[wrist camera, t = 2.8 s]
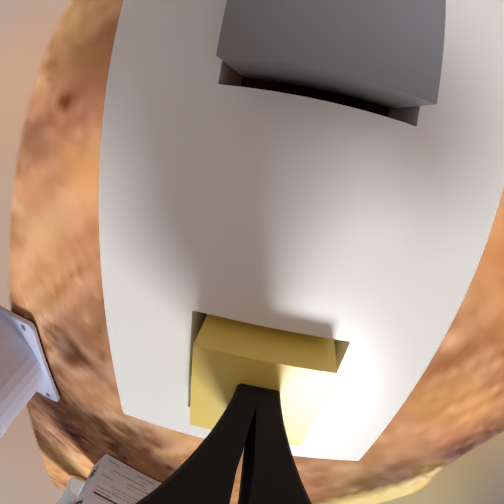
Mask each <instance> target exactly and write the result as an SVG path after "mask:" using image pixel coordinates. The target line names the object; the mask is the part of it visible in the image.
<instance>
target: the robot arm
mask: <svg viewBox="0 0 504 504" xmlns="http://www.w3.org/2000/svg"><path fill="white" fill-rule="evenodd" d="M36 391H37V392H39V393H40V394H42V395H44V396H46V397H48V398H49V399H51V400H53V401H55V402H58V401H59V399H60V396H59V394H58V391H57V389H56V386H55V384H54V381H53V378H52V376H51V373H50V370H49V368H48V365H47V362H46V359H45V356H44V353H43V350H42V347H41V344H40V340H39V337H38V334H37V330H36V327H35V326H34V324H33V323H32V322H31V321H29V320H27V319H25V318H23V317H21V316H19V315H17V314H15V313H13V312H11V311H9V310H7V309H5V308H3V307H1V306H0V438H1V437H2V435H3V434H4V433H5V431H6V430H7V429H8V427H9V426H10V424H11V423H12V422H13V421H14V419H15V418H16V417H17V415H18V414H19V413H20V411H21V410H22V409H23V408H24V406H25V405H26V404H27V402H28V401H29V400H30V399H31V397H32V396H33V395H34V394H35V392H36ZM243 449H244V455H243V464H242V473H241V482H240V491H239V500H238V504H311V502H310V500H309V497H308V495H307V493H306V491H305V488H304V486H303V484H302V481H301V479H300V476H299V474H298V471H297V468H296V465H295V462H294V459H293V456H292V453H291V449H290V446H289V442H288V438H287V434H286V430H285V426H284V420H283V415H282V409H281V400H280V393H279V391H278V390H272V389H267V388H262V387H257V386H252V385H247V384H242V383H240V384H238V385H237V387H236V390H235V392H234V394H233V397H232V399H231V401H230V402H229V404H228V406H227V408H226V409H225V411H224V413H223V414H222V416H221V417H220V419H219V420H218V422H217V423H216V425H215V426H214V428H213V429H212V430H211V432H210V433H209V434H208V436H207V437H206V438H205V439H204V441H203V442H202V443H201V444H200V445H199V447H198V448H197V449H196V450H195V451H194V453H193V454H192V455H191V456H190V457H189V458H188V459H187V460H186V461H185V462H184V463H183V464H182V465H181V466H180V467H179V468H178V469H177V470H176V471H175V472H174V473H173V474H172V475H171V476H170V477H169V478H167V479H166V480H165V481H164V482H163V483H162V484H161V485H159V486H158V487H157V488H156V489H154V490H153V491H152V492H151V493H149V494H148V495H147V496H145V497H144V498H142V499H141V500H140V501H138V502H137V503H135V504H229V503H230V498H231V493H232V489H233V484H234V479H235V474H236V470H237V467H238V464H239V461H240V458H241V455H242V452H243Z"/></svg>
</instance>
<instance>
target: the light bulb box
mask: <svg viewBox="0 0 504 504" xmlns="http://www.w3.org/2000/svg"><path fill="white" fill-rule="evenodd" d="M161 484H162V483H161V482H159V481H156V480H154V479H152V478H150V477H148V476H146V475H144V474H142V473H141V472H139V471H137V470H135V469H133V468H131V467H129V466H128V465H126V464H124V463H122V462H121V461H119V460H117V459H115V458H114V457H112V456H110V455H109V454H105V455H104V456H103V457H102V458H101V459H100V460H99V461H98V462H97V463H96V464H95V465H94V466H93V468H92V470H91V472H90V474H89V476H88V478H87V480H86V482H85V484H84V486H83V488H82V490H81V492H80V494H79V496H78V498H77V500H76V502H75V504H135V503H137V502H138V501H140V500H141V499H142V498H144V497H145V496H147V495H148V494H149V493H151V492H152V491H153V490H154V489H156V488H157V487H158V486H159V485H161Z"/></svg>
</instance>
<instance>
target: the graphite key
mask: <svg viewBox="0 0 504 504" xmlns="http://www.w3.org/2000/svg"><path fill="white" fill-rule="evenodd" d="M445 16H446V0H227V2H226V7H225V11H224V16H223V21H222V26H221V31H220V37H219V42H218V47H217V53H216V56H217V57H219V58H220V59H221V60H222V61H224V62H225V63H226V64H227V65H229V66H230V67H231V68H232V69H234V70H235V71H236V72H237V73H239V74H240V75H241V76H242V77H248V78H256V79H264V80H271V81H277V82H283V83H289V84H295V85H300V86H306V87H311V88H316V89H320V90H325V91H329V92H334V93H338V94H342V95H346V96H350V97H354V98H358V99H362V100H366V101H369V102H373V103H376V104H380V105H383V106H386V107H390V108H393V109H399V108H407V107H416V106H425V105H436V104H437V99H438V92H439V85H440V77H441V69H442V60H443V49H444V36H445Z"/></svg>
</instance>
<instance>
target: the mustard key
mask: <svg viewBox="0 0 504 504" xmlns="http://www.w3.org/2000/svg"><path fill="white" fill-rule="evenodd" d="M336 375H337V363H336V353H335V344H334V339H330V338H324V337H318V336H312V335H307V334H301V333H296V332H290V331H285V330H280V329H275V328H270V327H265V326H260V325H255V324H250V323H246V322H241V321H237V320H232V319H227V318H223V317H219V316H214V315H210V314H207V316H206V318H205V320H204V323H203V325H202V327H201V329H200V331H199V333H198V335H197V338H196V340H195V342H194V344H193V356H192V376H191V400H190V424H191V425H194V426H198V427H202V428H206V429H210V430H212V429H213V428H214V426H215V425H216V423H217V422H218V420H219V419H220V417H221V416H222V414H223V413H224V411H225V409H226V408H227V406H228V404H229V402H230V401H231V399H232V397H233V394H234V392H235V390H236V387H237V385H238V384H240V383H242V384H247V385H252V386H257V387H262V388H267V389H272V390H278V391H279V393H280V400H281V409H282V415H283V420H284V426H285V430H286V434H287V438H288V442H289V445H295V446H300V445H301V443H302V442H303V440H304V438H305V436H306V435H307V433H308V431H309V429H310V427H311V425H312V423H313V422H314V420H315V418H316V416H317V414H318V412H319V410H320V408H321V406H322V404H323V402H324V400H325V398H326V396H327V394H328V392H329V390H330V388H331V386H332V384H333V382H334V380H335V378H336Z"/></svg>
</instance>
